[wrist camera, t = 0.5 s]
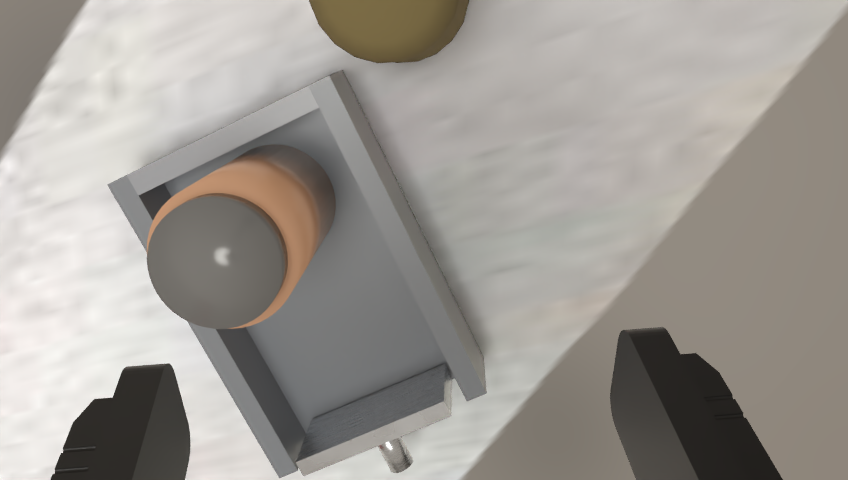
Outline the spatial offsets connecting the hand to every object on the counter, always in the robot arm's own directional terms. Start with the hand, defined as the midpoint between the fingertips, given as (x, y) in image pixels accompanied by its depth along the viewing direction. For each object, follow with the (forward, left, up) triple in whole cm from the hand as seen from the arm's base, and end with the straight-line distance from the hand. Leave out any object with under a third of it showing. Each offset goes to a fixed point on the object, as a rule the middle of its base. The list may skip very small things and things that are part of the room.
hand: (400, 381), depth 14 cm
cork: (-2, -7, -24) cm, 25 cm away
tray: (+8, +2, -24) cm, 25 cm away
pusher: (+8, +11, -23) cm, 26 cm away
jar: (+8, -1, -23) cm, 24 cm away
